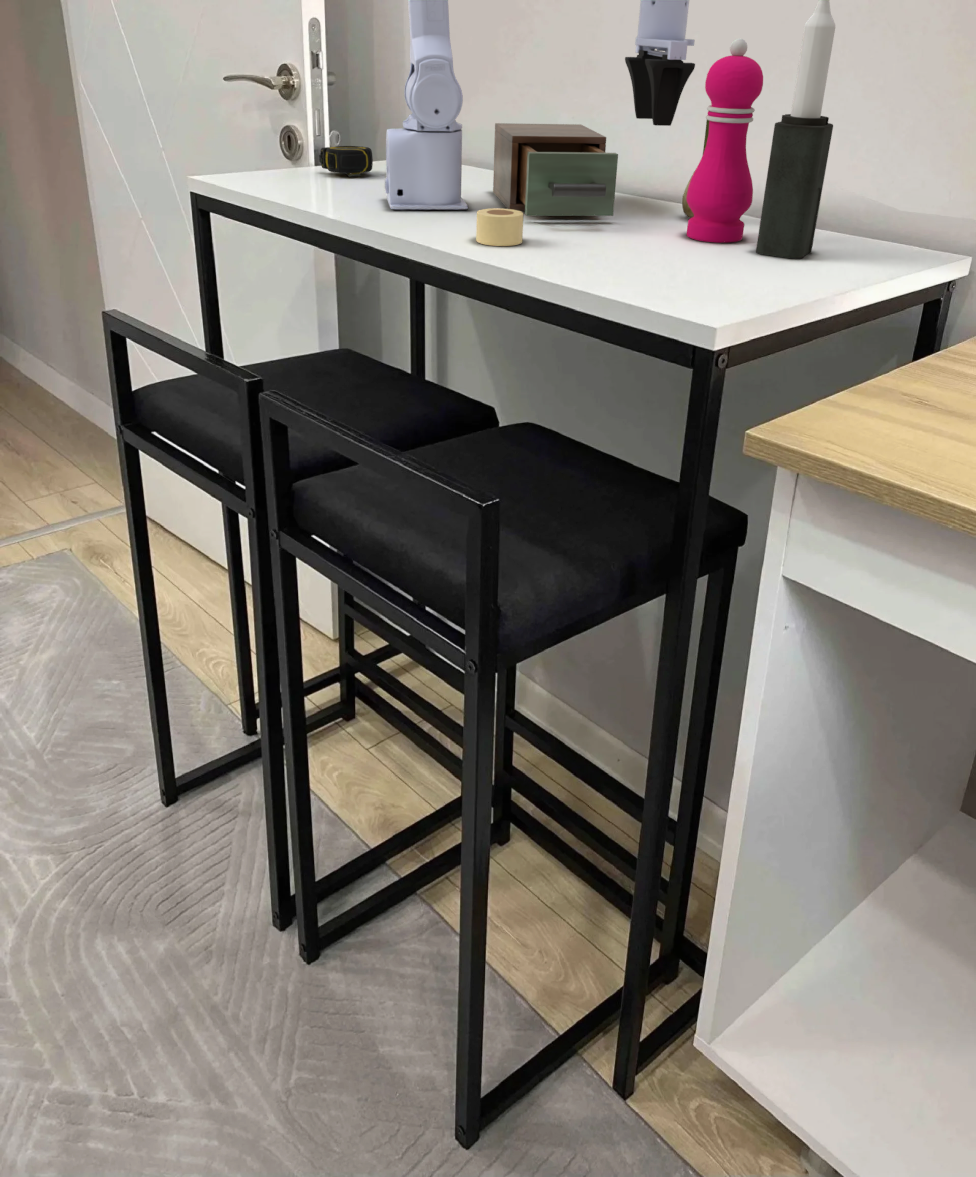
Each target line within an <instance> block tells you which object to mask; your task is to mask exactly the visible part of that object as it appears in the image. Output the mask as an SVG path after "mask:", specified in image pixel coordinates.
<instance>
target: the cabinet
mask: <svg viewBox="0 0 976 1177" xmlns="http://www.w3.org/2000/svg"><path fill="white" fill-rule="evenodd" d="M518 143H562V144H591V145H593V146H595V147H597V148H598V149H600V150H602V151H604V152H606V149H607V136H605V135H603V134H601V133H599V132H597V131H595V130H593V129H591V128H589V127H587V126H585V125H583V124H580V123H579V124H577V123H575V124H574V123H570V124H569V123H565V124H564V123H563V124H562V123H505V122H504V123H502V122H501V123H500V122H498V123H497V122H495V123H494V144H493V148H494V149H493V180H492V181H493V182H492V183H493V184H492V186H493V187H492V193H493V195H495V197H496V198H497V199H498V200H499V201H500V202H501V203H502V204H503V205H504V207H506V209H513V210H518V211H521V212H525V205H524V204H523V203H522V202H521V201H520V200H519V199H518V198H517V197H516V196H517V170H518Z"/></svg>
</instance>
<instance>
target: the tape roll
mask: <svg viewBox="0 0 976 1177" xmlns="http://www.w3.org/2000/svg"><path fill="white" fill-rule="evenodd" d="M523 231H524V211H518V210H513V209H508V208H502V207H501V208H499V207H498V208H497V207H496V208H494V207H493V208H492V207H491V208H482V209H479V210H477V211H476V231H475V232H476V233H475V241H476V242H477V243H479V244H481V245H484V246H493V247H513V246H518V245H520V244H522V243H523V237H524V236H523V234H524V232H523Z"/></svg>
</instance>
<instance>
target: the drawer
mask: <svg viewBox="0 0 976 1177" xmlns="http://www.w3.org/2000/svg"><path fill="white" fill-rule="evenodd" d="M618 160H619V154H618V153H616V152H606V151H605V152H604V151H602V150H600V149H598V148H597V147H595V146H593V145H591V144H562V143H518V170H517V196H516V197H517V198H518V199H519V200H520V201H521V202H522V203H523V204H524V205H525V211H524V215H526V216H527V217H531V216H532V217H533V216H536V217H543V216H544V217H551V216H553V217H613V216H614V210H615V198H616V185H617V173H618V162H619V161H618Z"/></svg>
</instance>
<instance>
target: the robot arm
mask: <svg viewBox="0 0 976 1177" xmlns="http://www.w3.org/2000/svg"><path fill="white" fill-rule="evenodd" d="M639 3H640V4H639V13H638V25H637V36H636V37H635V41H634V46H635V54H636V56H625V57H624V62H625V65H626V67H627V70H628V73H629V76H630V81H631V86H632V93H633V105H634V114H635V119H639V120H640V119H641V120H652V125H653V126H656V127H657V126H658V127H659V126H663V127H664V126H666V127H668V126H669V127H671V126H672V123H673V121H674V118H675V114H676V111H677V108H678V105H679V103H680V100H681V99H680V98H681V97H682V93H683V91H684V89H685V86H686V84H687V82H688V80H689V79H690V77H691V75H692V73H693V72H694V70H695V68H696V63H694V62H684V61H686V60H687V54H688V47H693V46H694V47H695V39H692V38H686V35H687V26H688V25H687V24H688V17H689V16H688V15H689V8H690V0H640V2H639ZM407 6H408V9H407V10H408V22H409V41H410V42H409V72H408V76H407V79H406V81H405V85H404V90H403V94H404V95H403V96H404V101H405V103H406V106H407V107H408V109H409V111H410V112H411V113H410V114H409V115H408V116H407V117H406V118H405V119H404V120H403V121H402V127H401V128H387V129H386V133H385V166H386V168H385V171H386V177H385V178H384V193H385V194H386V201H387V203H388V206H389V208H390V209H391V210H467V209H469V208H468V207H469V205H468V204H467V203H466V201H465V200H464V198H463V197H462V170H463V168H462V166H463V165H462V162H463V161H462V160H463V159H462V158H463V124H462V123H459V122H457V118H458V117H459V115H460V113H461V111H462V107H463V102H464V98H463V90H462V87H461V85H460V83H459V80H458V79H457V77H456V75H455V71H454V58H453V50H452V44H451V35H450V34H451V33H450V13H449V9H450V8H449V0H407Z"/></svg>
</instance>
